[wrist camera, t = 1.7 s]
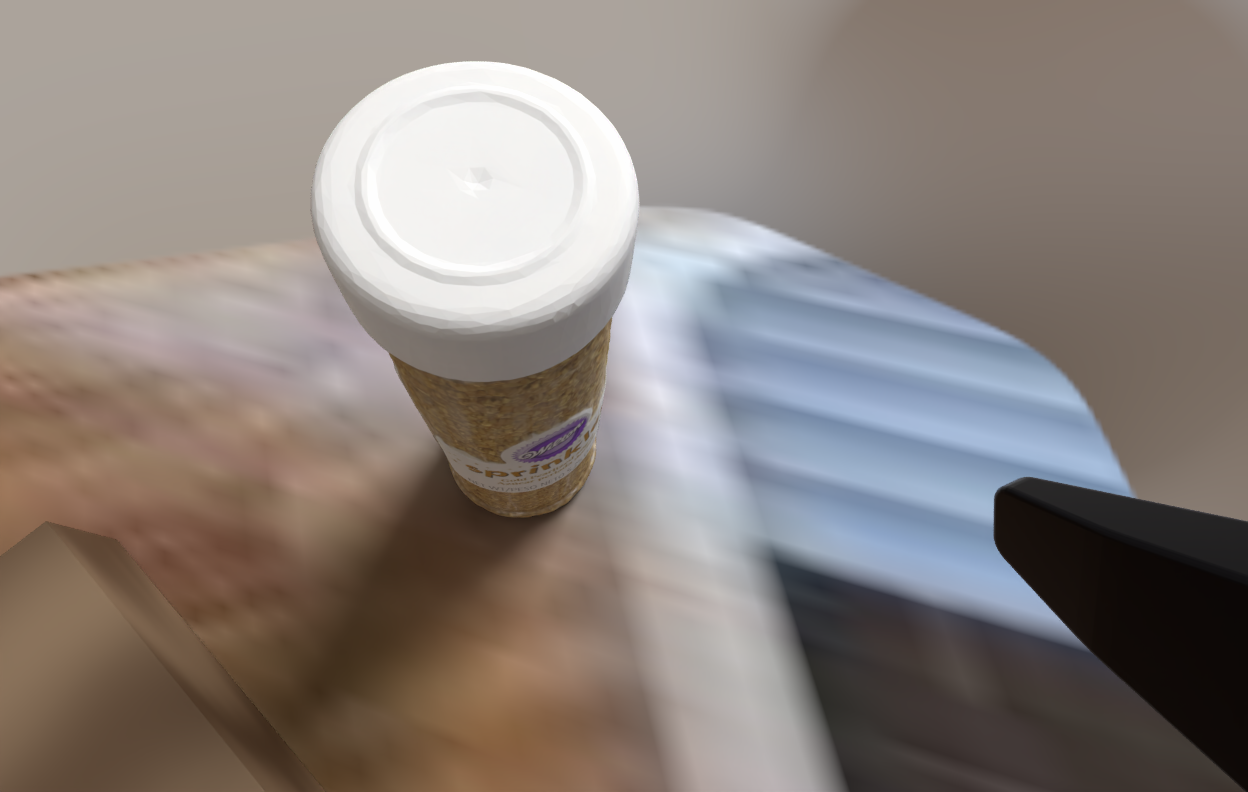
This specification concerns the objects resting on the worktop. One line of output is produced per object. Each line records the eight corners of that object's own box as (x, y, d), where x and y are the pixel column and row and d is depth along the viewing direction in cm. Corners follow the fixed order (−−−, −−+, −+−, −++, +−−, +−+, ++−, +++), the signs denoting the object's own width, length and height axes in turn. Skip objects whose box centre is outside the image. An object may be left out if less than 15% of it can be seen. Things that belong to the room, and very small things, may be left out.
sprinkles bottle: (519, 552, 21) (460, 403, 9) (416, 444, 22) (225, 168, 10) (628, 447, 23) (711, 186, 10) (527, 349, 24) (487, -5, 11)
